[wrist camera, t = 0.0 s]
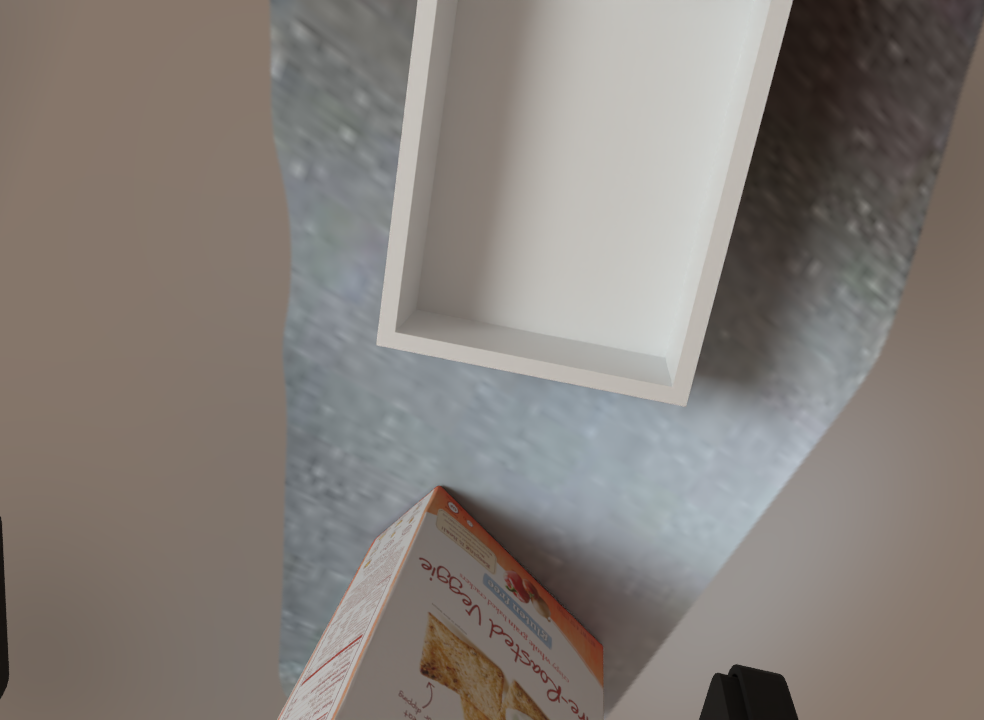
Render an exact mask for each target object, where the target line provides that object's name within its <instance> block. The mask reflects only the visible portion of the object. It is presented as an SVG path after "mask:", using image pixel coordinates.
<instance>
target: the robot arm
mask: <svg viewBox="0 0 984 720" xmlns="http://www.w3.org/2000/svg"><path fill="white" fill-rule="evenodd" d="M3 559H4V557H3V537H2V521H1V517H0V698H1V696H2V695H3V693H4V691H5V689H6V687H7V683H8V679H9V661H8V642H7V620H6V601H5V600H6V599H5V581H4V580H5V578H4V560H3ZM699 720H798V717H797V714H796V710H795V707H794V704H793V701H792V698H791V695H790V692H789V689H788V686H787V683H786V681H785V678H784V677H783V676H782V675H781V674H777V673H773V672H768V671H763V670H759V669H755V668H751V667H746V666H742V665H737V664H736V665H733V666H732V668H731V669H730V671H729V673H728V675H725V674H721V673H715V675H714V676H713V678H712V681H711V683H710V687H709V690H708V693H707V696H706V699H705V703H704V706H703V709H702V712H701V715H700V718H699Z"/></svg>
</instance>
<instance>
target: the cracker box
mask: <svg viewBox="0 0 984 720" xmlns="http://www.w3.org/2000/svg"><path fill="white" fill-rule="evenodd" d="M603 717H604V693H603V646H602V644H600V643H599V642H598V641H597V640H596V639H595V638H594V637H593V636H592V635H591V634H590V633H589V632H587V631H586V629H585V628H584V627H583V626H582V625H581V624H580V623H579V622H578V621H577V620H576V619H575V618H574V617H573V616H572V615H571V614H570V613H569V612H568V611H567V610H566V609H565V608H563V607H562V606H561V605H560V604H559V603H558V602H557V601H556V600H555V599H554V598H553V597H552V596H551V595H550V594H549V593H548V592H547V591H546V590H545V589H544V588H543V587H542V586H541V585H540V584H539V583H538V582H537V581H536V580H535V579H534V578H533V577H532V576H531V575H530V574H529V573H528V572H527V571H526V570H525V569H524V568H523V567H522V566H521V565H520V564H519V563H518V562H517V561H516V560H515V559H514V558H513V557H512V556H511V555H510V554H509V553H508V552H507V551H506V550H505V549H504V548H503V547H502V546H501V545H500V544H499V543H498V542H497V541H496V540H495V539H494V538H493V537H492V536H490V535H489V534H488V533H487V532H486V531H485V530H484V529H483V528H482V527H481V526H480V525H479V524H478V523H477V522H476V521H475V520H474V519H473V518H472V517H471V516H470V515H469V514H468V513H467V512H466V511H465V510H464V509H463V508H462V507H461V506H460V505H459V504H458V503H457V502H456V501H455V500H454V499H453V498H452V497H451V496H450V495H449V494H448V493H447V492H446V491H445V490H444V489H443V488H442V487H441V486H437V487H435V488H434V489H433V490H432V491H431V492H430V493H429V494H427V495H426V496H425V497H424V498H423V499H421V500H420V501H419V502H418V503H417V504H416V505H414V506H413V507H412V508H411V509H410V510H409V511H407V512H406V513H405V514H404V515H403V516H402V517H400V518H399V519H398V520H397V521H396V522H395V523H394V524H392V525H391V526H390V527H389V528H388V529H386V530H385V531H384V532H383V533H382V534H381V535H379V536H378V537H377V538H376V539H375V540H374V542H373V543H372V545H371V547H370V548H369V550H368V552H367V554H366V556H365V557H364V559H363V561H362V563H361V565H360V567H359V569H358V570H357V572H356V574H355V576H354V578H353V579H352V581H351V583H350V585H349V587H348V589H347V590H346V592H345V594H344V596H343V598H342V600H341V602H340V603H339V605H338V607H337V609H336V611H335V613H334V615H333V617H332V618H331V620H330V622H329V624H328V626H327V628H326V629H325V631H324V633H323V635H322V637H321V639H320V641H319V642H318V644H317V646H316V648H315V650H314V652H313V654H312V656H311V657H310V659H309V661H308V663H307V665H306V667H305V669H304V671H303V672H302V674H301V676H300V678H299V680H298V682H297V684H296V685H295V687H294V689H293V691H292V693H291V695H290V697H289V698H288V700H287V702H286V704H285V706H284V708H283V710H282V712H281V713H280V715H279V717H278V719H277V720H604V719H603Z"/></svg>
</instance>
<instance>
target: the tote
mask: <svg viewBox="0 0 984 720" xmlns="http://www.w3.org/2000/svg"><path fill="white" fill-rule="evenodd" d="M792 2H793V0H418V3H417V11H416V20H415V28H414V36H413V45H412V53H411V61H410V70H409V78H408V86H407V95H406V103H405V111H404V120H403V128H402V136H401V145H400V153H399V161H398V170H397V178H396V186H395V195H394V203H393V211H392V219H391V228H390V236H389V244H388V253H387V261H386V269H385V278H384V286H383V294H382V303H381V311H380V319H379V328H378V336H377V344H376V345H379V346H384V347H389V348H394V349H399V350H404V351H409V352H414V353H419V354H424V355H429V356H434V357H439V358H444V359H449V360H454V361H459V362H464V363H469V364H474V365H479V366H484V367H489V368H494V369H499V370H504V371H509V372H514V373H519V374H524V375H529V376H534V377H539V378H544V379H549V380H554V381H559V382H564V383H569V384H574V385H579V386H584V387H589V388H594V389H600V390H605V391H610V392H615V393H620V394H625V395H630V396H635V397H640V398H645V399H650V400H655V401H660V402H665V403H670V404H675V405H680V406H685V407H686V405H687V401H688V397H689V393H690V389H691V386H692V382H693V378H694V374H695V370H696V367H697V363H698V359H699V355H700V351H701V348H702V344H703V340H704V336H705V332H706V329H707V325H708V321H709V317H710V313H711V310H712V306H713V302H714V298H715V294H716V291H717V287H718V283H719V279H720V275H721V272H722V268H723V264H724V260H725V256H726V253H727V249H728V245H729V241H730V237H731V234H732V230H733V226H734V222H735V218H736V215H737V211H738V207H739V203H740V199H741V196H742V192H743V188H744V184H745V180H746V177H747V173H748V169H749V165H750V161H751V158H752V154H753V150H754V146H755V142H756V139H757V135H758V131H759V127H760V123H761V120H762V116H763V112H764V108H765V105H766V101H767V97H768V93H769V89H770V86H771V82H772V78H773V74H774V70H775V67H776V63H777V59H778V55H779V51H780V48H781V44H782V40H783V36H784V32H785V29H786V25H787V21H788V17H789V13H790V10H791V6H792Z"/></svg>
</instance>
